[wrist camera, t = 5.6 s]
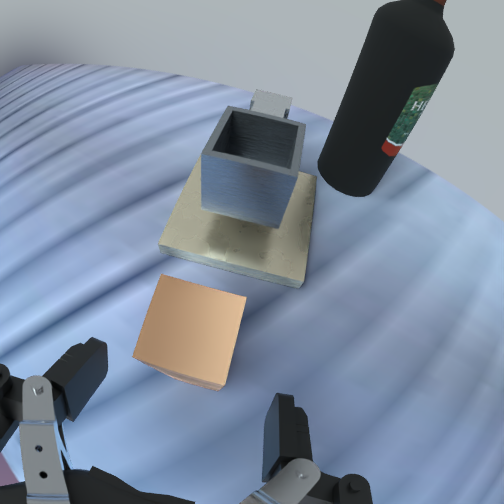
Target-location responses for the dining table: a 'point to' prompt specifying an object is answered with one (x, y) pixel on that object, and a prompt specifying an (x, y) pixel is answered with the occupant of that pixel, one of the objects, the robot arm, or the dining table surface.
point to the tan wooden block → (190, 332)
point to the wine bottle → (386, 93)
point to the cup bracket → (248, 197)
